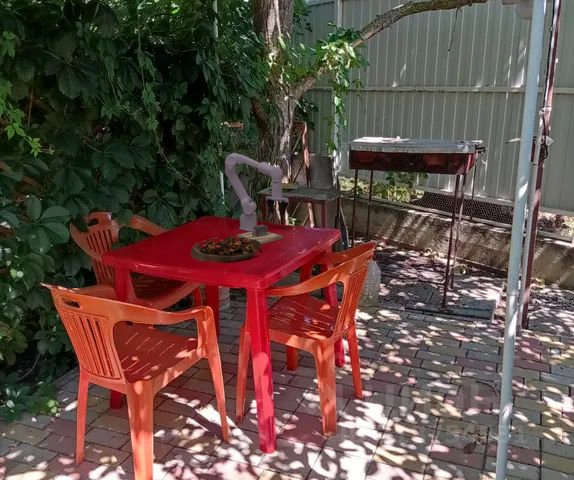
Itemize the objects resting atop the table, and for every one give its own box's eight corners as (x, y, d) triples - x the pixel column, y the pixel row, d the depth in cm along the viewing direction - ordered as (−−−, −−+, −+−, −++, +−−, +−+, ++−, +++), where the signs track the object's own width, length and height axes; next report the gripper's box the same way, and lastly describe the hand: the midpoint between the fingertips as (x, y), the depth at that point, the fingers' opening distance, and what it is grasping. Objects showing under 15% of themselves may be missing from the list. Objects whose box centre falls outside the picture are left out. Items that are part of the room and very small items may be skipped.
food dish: (250, 243, 308) (250, 229, 306) (271, 261, 278) (271, 245, 276) (183, 248, 295) (183, 233, 293) (198, 268, 266) (197, 251, 264)
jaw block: (253, 235, 312) (253, 226, 311) (262, 233, 316) (262, 224, 315) (258, 236, 310) (258, 227, 308) (267, 234, 314) (266, 225, 312)
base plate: (237, 237, 315) (236, 227, 313) (259, 232, 325) (259, 222, 324) (259, 244, 301) (259, 233, 300) (282, 238, 312) (282, 228, 310)
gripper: (262, 189, 326) (262, 213, 329) (282, 191, 317) (283, 216, 321) (270, 187, 331) (270, 211, 335) (290, 189, 323) (291, 214, 326)
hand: (277, 213), depth 328 cm, fingers open, 7 cm apart
